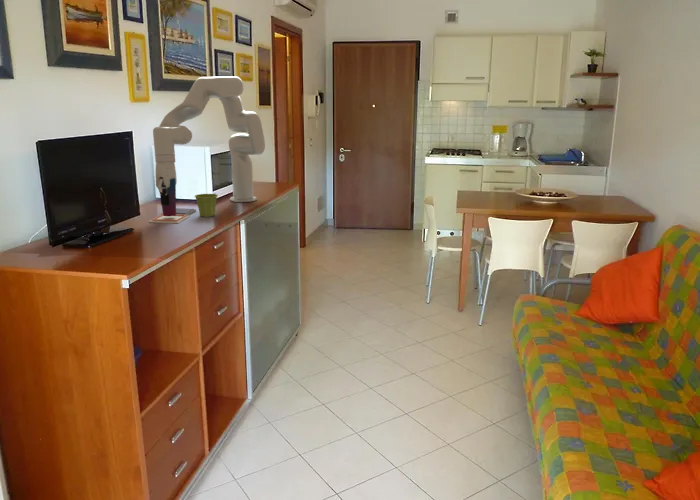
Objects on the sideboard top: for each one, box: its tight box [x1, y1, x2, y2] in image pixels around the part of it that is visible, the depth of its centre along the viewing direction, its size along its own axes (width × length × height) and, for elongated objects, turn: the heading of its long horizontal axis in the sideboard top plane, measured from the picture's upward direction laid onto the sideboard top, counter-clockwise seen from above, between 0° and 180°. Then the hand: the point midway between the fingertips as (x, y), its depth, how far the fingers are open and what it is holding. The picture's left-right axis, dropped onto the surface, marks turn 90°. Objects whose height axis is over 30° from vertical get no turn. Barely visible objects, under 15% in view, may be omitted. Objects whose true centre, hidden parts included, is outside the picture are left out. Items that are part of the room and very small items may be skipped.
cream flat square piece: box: [148, 214, 190, 224], centre depth 230 cm, size 12×12×1 cm
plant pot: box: [194, 193, 219, 218], centre depth 237 cm, size 9×9×9 cm
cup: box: [159, 177, 177, 216], centre depth 228 cm, size 7×7×15 cm
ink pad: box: [160, 207, 197, 216], centre depth 242 cm, size 11×11×1 cm
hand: (168, 202), depth 229 cm, fingers closed on cup, 6 cm apart
